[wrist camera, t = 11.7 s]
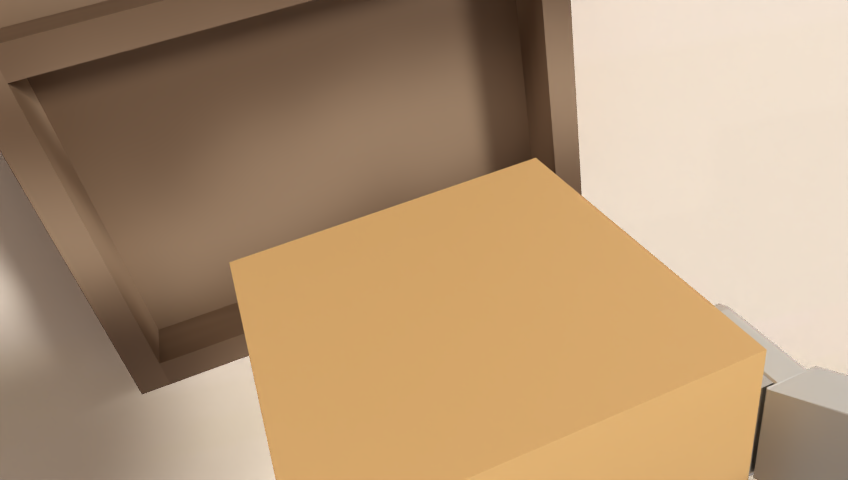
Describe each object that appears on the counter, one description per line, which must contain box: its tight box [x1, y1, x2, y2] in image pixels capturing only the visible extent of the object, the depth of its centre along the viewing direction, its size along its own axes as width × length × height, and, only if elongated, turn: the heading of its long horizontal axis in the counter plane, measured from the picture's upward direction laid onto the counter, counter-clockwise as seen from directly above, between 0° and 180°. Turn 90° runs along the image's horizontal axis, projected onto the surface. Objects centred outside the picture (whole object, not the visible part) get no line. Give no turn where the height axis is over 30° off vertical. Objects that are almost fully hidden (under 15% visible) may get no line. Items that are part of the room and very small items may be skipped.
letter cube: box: [229, 158, 767, 480], centre depth 10 cm, size 5×5×5 cm
